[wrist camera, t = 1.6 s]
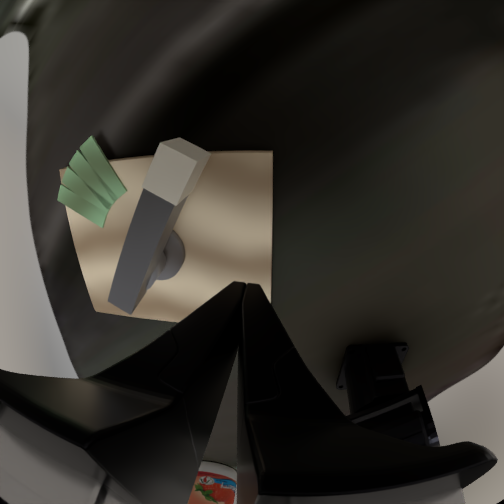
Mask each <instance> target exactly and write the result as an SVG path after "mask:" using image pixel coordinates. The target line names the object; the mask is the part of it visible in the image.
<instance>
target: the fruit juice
mask: <svg viewBox="0 0 504 504" xmlns="http://www.w3.org/2000/svg"><path fill="white" fill-rule="evenodd" d="M236 484H237V472H236V471H235V470H234V469H233V468H231V467H228V466H226V465H223V464H219V463H214V462H207V461H202V462H201V465H200V468H199V471H198V474H197V477H196V480H195V483H194V486H193V489H192V492H191V494H190V497H189V500H188V503H187V504H233V503H234V497H235V490H236Z"/></svg>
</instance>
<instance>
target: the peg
mask: <svg viewBox="0 0 504 504" xmlns="http://www.w3.org/2000/svg"><path fill="white" fill-rule="evenodd" d="M210 156H211V153H209V152H207V151H205V150H203V149H202V148H200V147H198V146H196V145H194V144H192V143H190V142H188V141H186V140H184V139H182V138H180V137H179V138H175V139H172V140H168V141H164V142H160V144H159V146H158V148H157V151H156V153H155V155H154V158H153V160H152V162H151V165H150V167H149V170H148V172H147V175H146V177H145V180H144V182H143V185H142V188H143V191H142V193H141V196H140V199H139V201H138V204H137V207H136V209H135V212H134V215H133V218H132V221H131V224H130V226H129V229H128V232H127V235H126V238H125V242H124V245H123V248H122V251H121V254H120V257H119V261H118V264H117V268H116V271H115V275H114V278H113V282H112V285H111V289H110V293H109V297H108V302H109V303H111V304H113V305H114V306H116V307H118V308H119V309H121V310H123V311H124V312H126V313H128V314H130V315H131V314H132V313H133V311H134V310H135V308H136V307H137V305H138V304H139V302H140V301H141V299H142V298H143V297H144V295H145V294H146V292H147V290H148V289H150V288H151V287H152V285H153V284H154V282H155V281H156V279H157V278H158V277H159V275H160V274H161V272H162V271H163V269H164V268H165V266H166V257H165V254H164V252H163V250H164V248H165V246H166V243H167V241H168V239H169V237H170V234H171V232H172V230H173V228H174V225H175V223H176V221H177V219H178V217H179V214H180V212H181V210H182V208H183V206H184V204H185V202H186V199H187V197H188V195H189V194H190V193H191V192H192V191H193V189H194V187H195V185H196V183H197V181H198V179H199V177H200V175H201V173H202V171H203V169H204V167H205V165H206V163H207V161H208V159H209V157H210Z"/></svg>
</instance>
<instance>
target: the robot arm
mask: <svg viewBox="0 0 504 504" xmlns="http://www.w3.org/2000/svg"><path fill="white" fill-rule="evenodd" d="M238 346H239V348H238ZM408 348H409V347H408V345H407V343H395V344H375V345H350V346H348V347H347V349H346V352H345V356H344V359H343V363H342V366H341V370H340V373H339V376H338V380H337V383H336V388H337V389H339V390H342V389H347V393H348V400H349V407H350V415H348V416H345V415H344V414H343V413H342V412H341V410H340V409H339V408H338V407H337V405H336V404H335V403H334V402H333V400H332V399H331V398H330V397H329V395H328V394H327V393H326V392H325V390H324V389H323V388H322V387H321V385H320V384H319V383H318V382H317V380H316V379H315V378H314V376H313V375H312V373H311V372H310V371H309V369H308V368H307V366H306V365H305V363H304V362H303V360H302V358H301V357H300V355H299V353H298V351H297V349H296V348H295V346H294V344H293V343H292V341H291V339H290V337H289V335H288V334H287V332H286V330H285V328H284V327H283V325H282V323H281V321H280V319H279V318H278V316H277V314H276V312H275V310H274V309H273V307H272V305H271V303H270V301H269V300H268V298H267V296H266V294H265V292H264V291H263V289H262V287H261V285H260V284H256V283H247V284H246V283H245V282H239V281H233V282H231V283H230V284H229V285H227V286H226V287H225V288H224V289H222V290H221V291H220V292H218V293H217V294H216V295H214V296H213V297H212V298H210V299H209V300H208V301H206V302H205V303H204V304H202V305H201V306H200V307H198V308H197V309H196V310H194V311H193V312H192V313H191V314H189V315H188V316H187V317H185V318H184V319H183V320H181V321H180V322H179V323H177V324H176V325H175V326H173V327H172V328H171V329H170V330H168V331H166V332H165V333H164V334H162V335H161V336H160V337H158V338H157V339H155V340H154V341H152V342H151V343H150V344H148V345H147V346H145V347H143V348H142V349H140V350H138V351H137V352H135V353H133V354H132V355H130V356H128V357H126V358H125V359H123V360H121V361H119V362H118V363H116V364H114V365H112V366H111V367H109V368H107V369H105V370H103V371H102V372H100V373H98V374H96V375H93V376H90V377H87V378H80V379H71V378H57V377H44V376H35V375H27V374H19V373H14V372H9V371H5V370H1V369H0V504H187V503H188V500H189V497H190V494H191V492H192V489H193V486H194V483H195V480H196V477H197V474H198V471H199V468H200V465H201V462H202V459H203V456H204V453H205V450H206V447H207V444H208V441H209V438H210V435H211V432H212V429H213V426H214V423H215V420H216V417H217V413H218V410H219V407H220V404H221V401H222V398H223V395H224V392H225V389H226V386H227V382H228V379H229V376H230V373H231V370H232V367H233V364H234V360H235V357H236V354H237V350H238V396H237V504H465V500H464V495H463V490H462V489H463V488H464V487H466V486H468V485H469V484H471V483H472V482H474V481H475V480H477V479H478V478H480V477H481V476H482V475H484V474H485V473H486V472H488V471H489V470H490V469H491V468H492V467H493V466H494V465H495V464H496V463H497V460H498V459H497V458H496V456H495V455H494V454H493V453H492V452H491V451H490V450H489V449H487V448H486V447H484V446H481V445H478V444H475V443H472V442H469V441H468V442H460V443H455V444H451V445H447V446H441V447H440V444H439V440H438V435H437V432H436V428H435V425H434V421H433V418H432V415H431V412H430V409H429V406H428V403H427V400H426V397H425V394H424V391H423V388H422V386H421V385H420V386H417V387H416V388H415V389H413V390H411V391H409V389H408V385H407V382H406V379H405V374H404V371H403V368H402V365H401V364H402V362H403V360H404V358H405V356H406V353H407V351H408ZM351 350H352V351H351ZM497 504H504V500H502V501H501V502H499V503H497Z"/></svg>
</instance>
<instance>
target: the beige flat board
mask: <svg viewBox="0 0 504 504" xmlns="http://www.w3.org/2000/svg"><path fill="white" fill-rule="evenodd" d="M80 150H81V151H82V153H83V154H82V153H81V152H80ZM80 150H77V152H76V153H75V155H74V157H73V158H72V160H71V161H70V163H69V165H70V166H68V167H65V168H62V169H60V177H61V183H62V184H61V185H60V190H59V195H58V201H59V202H61V203H63V204H64V205H66V210H67V215H68V219H69V224H70V228H71V232H72V236H73V240H74V244H75V248H76V252H77V256H78V259H79V263H80V266H81V269H82V273H83V276H84V279H85V282H86V286H87V289H88V292H89V295H90V298H91V300H92V303H93V306H94V309H95V311H97V312H103V313H110V314H116V315H123V316H130V317H138V318H145V319H153V320H162V321H171V322H180V321H181V320H183V319H184V318H185V317H187V316H188V315H189V314H191V313H192V312H193V311H194V310H196V309H197V308H198V307H200V306H201V305H202V304H204V303H205V302H206V301H208V300H209V299H210V298H212V297H213V296H214V295H216V294H217V293H218V292H220V291H221V290H222V289H224V288H225V287H226V286H227V285H229V284H230V283H231V282H233V281H239V282H245V283H246V284H247V283H256V284H260V285H261V287H262V289H263V291H264V292H265V294H266V296H267V298H268V300H269V301H270V303H271V281H272V222H273V151H209V153H211V156H210V157H209V159H208V161H207V163H206V165H205V167H204V169H203V171H202V173H201V175H200V177H199V179H198V181H197V183H196V185H195V187H194V189H193V191H192V192H191V193H190V194H189V195H188V197H187V199H186V202H185V204H184V206H183V208H182V210H181V212H180V214H179V217H178V219H177V221H176V223H175V225H174V228H173V230H172V232H171V234H170V237H169V239H168V241H167V243H166V246H165V248H164V250H163V252H164V254H165V257H166V266H165V268H164V269H163V271H162V272H161V274H160V275H159V277H158V278H157V279H156V281H155V282H154V284H153V285H152V287H151V288H150V289H148V290H147V292H146V294H145V295H144V297H143V298H142V299H141V301H140V302H139V304H138V305H137V307H136V308H135V310H134V311H133V313H132V314H131V315H130V314H128V313H126V312H124V311H123V310H121V309H119V308H118V307H116V306H114V305H113V304H111V303H109V302H108V297H109V293H110V289H111V285H112V282H113V278H114V275H115V271H116V268H117V264H118V261H119V257H120V254H121V251H122V248H123V245H124V242H125V238H126V235H127V232H128V229H129V226H130V224H131V221H132V218H133V215H134V212H135V209H136V207H137V204H138V201H139V199H140V196H141V193H142V191H143V188H142V185H143V182H144V180H145V177H146V175H147V172H148V170H149V167H150V165H151V162H152V160H153V158H154V155H149V156H139V157H130V158H121V159H113V160H108V159H107V158H106V156H105V155H104V153H103V151H102V150H101V148H100V146H99V145H98V143H97V141H96V140H95V138H94V136H93V135H92V136H90V137H89V139H88V140H87V141H86V142H85V143H84V144H83V145H82V146H81V147H80Z"/></svg>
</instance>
